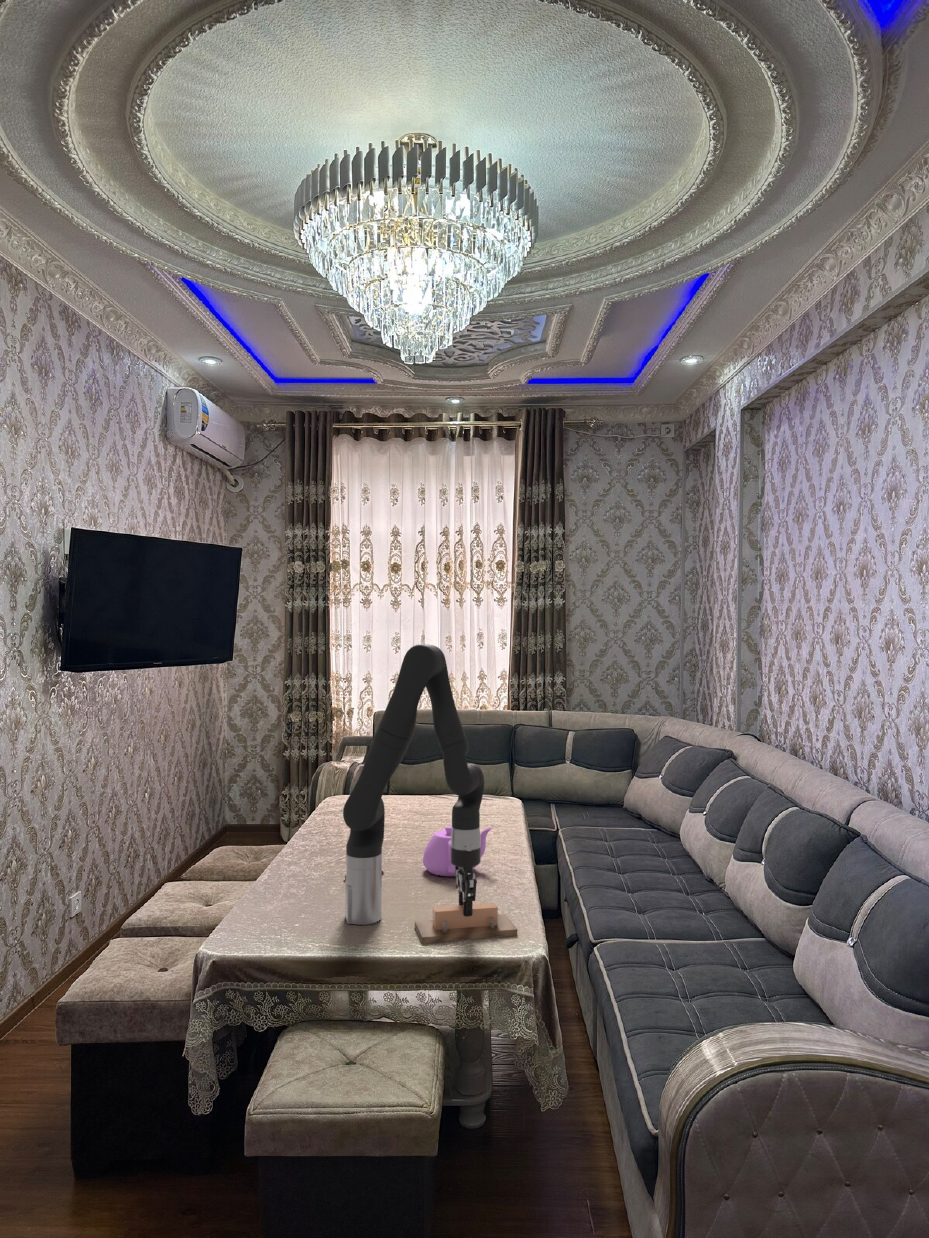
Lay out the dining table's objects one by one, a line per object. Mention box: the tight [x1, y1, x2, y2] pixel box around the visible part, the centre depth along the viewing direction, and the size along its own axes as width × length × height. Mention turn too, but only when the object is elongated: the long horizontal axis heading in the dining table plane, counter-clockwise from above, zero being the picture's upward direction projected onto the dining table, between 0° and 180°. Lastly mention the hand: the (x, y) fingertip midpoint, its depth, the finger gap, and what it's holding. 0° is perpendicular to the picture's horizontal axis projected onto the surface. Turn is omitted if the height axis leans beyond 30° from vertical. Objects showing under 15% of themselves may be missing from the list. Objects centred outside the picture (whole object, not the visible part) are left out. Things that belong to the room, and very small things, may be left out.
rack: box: [414, 913, 518, 944], centre depth 213 cm, size 24×11×4 cm, turn 103°
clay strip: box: [432, 902, 499, 930], centre depth 213 cm, size 16×4×4 cm, turn 102°
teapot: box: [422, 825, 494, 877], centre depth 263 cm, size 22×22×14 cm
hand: (465, 911), depth 213 cm, fingers open, 4 cm apart
